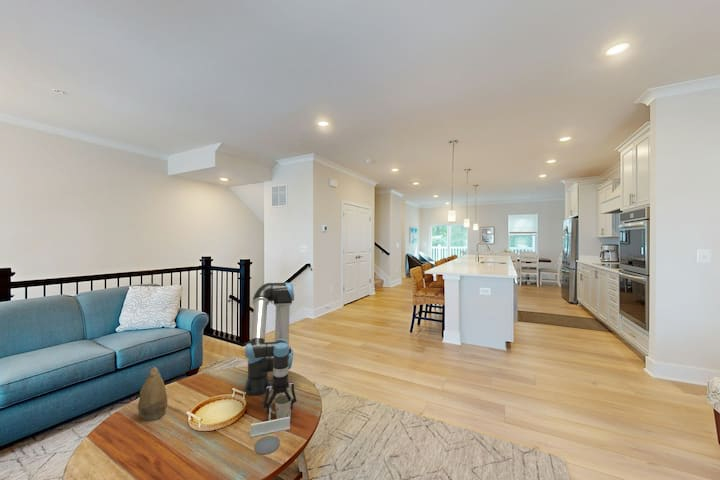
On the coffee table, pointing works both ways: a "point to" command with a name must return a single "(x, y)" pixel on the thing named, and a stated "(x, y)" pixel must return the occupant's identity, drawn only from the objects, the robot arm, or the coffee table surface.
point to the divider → (270, 426)
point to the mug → (281, 407)
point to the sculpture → (153, 396)
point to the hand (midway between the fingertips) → (279, 417)
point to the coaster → (267, 445)
